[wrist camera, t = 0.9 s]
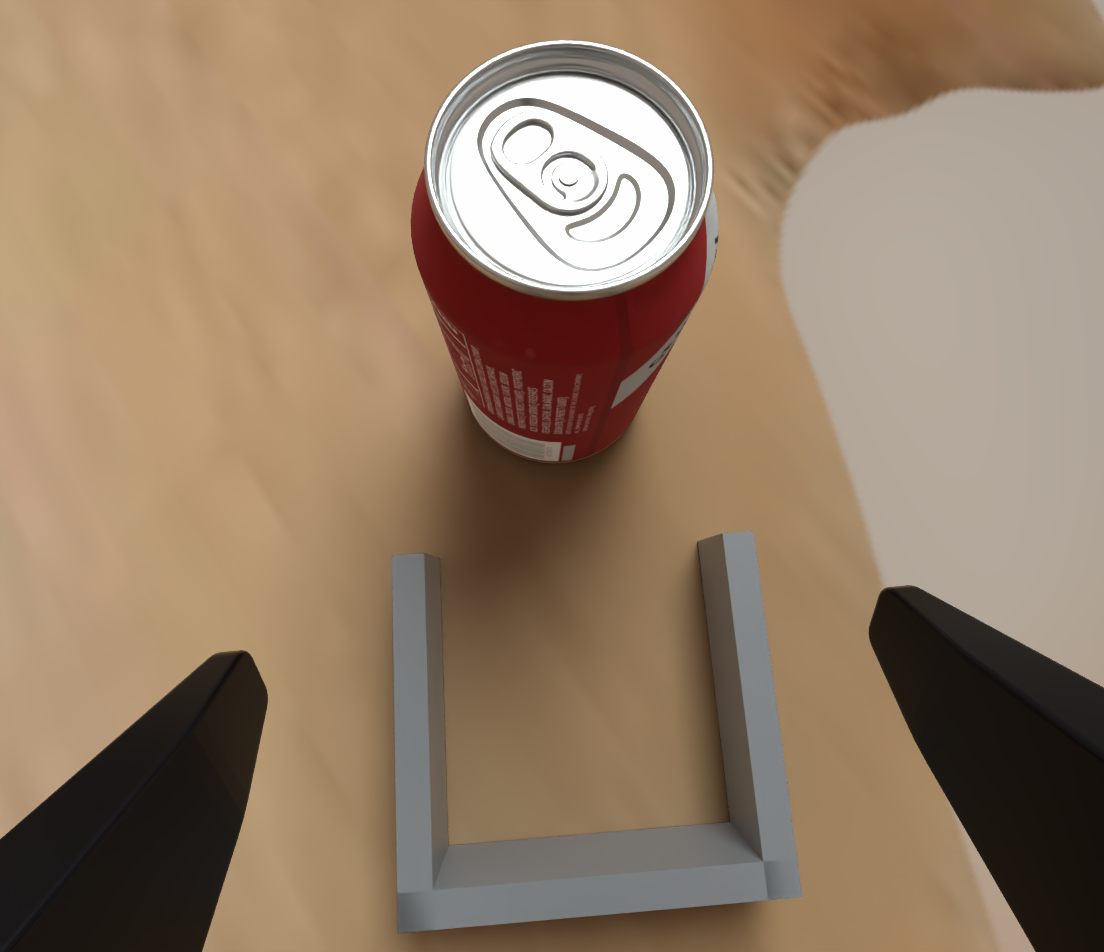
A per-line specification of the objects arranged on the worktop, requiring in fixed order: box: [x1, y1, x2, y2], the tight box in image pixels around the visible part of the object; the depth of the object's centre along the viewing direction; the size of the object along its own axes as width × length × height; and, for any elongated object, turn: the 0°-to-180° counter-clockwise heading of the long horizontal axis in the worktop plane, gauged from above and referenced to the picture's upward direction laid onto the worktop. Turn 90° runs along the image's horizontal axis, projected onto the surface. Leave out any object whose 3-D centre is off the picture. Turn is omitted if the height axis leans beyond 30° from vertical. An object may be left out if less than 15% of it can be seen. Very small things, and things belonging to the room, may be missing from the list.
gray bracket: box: [392, 531, 802, 933], centre depth 19 cm, size 10×12×3 cm
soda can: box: [411, 40, 719, 463], centre depth 17 cm, size 7×7×12 cm
